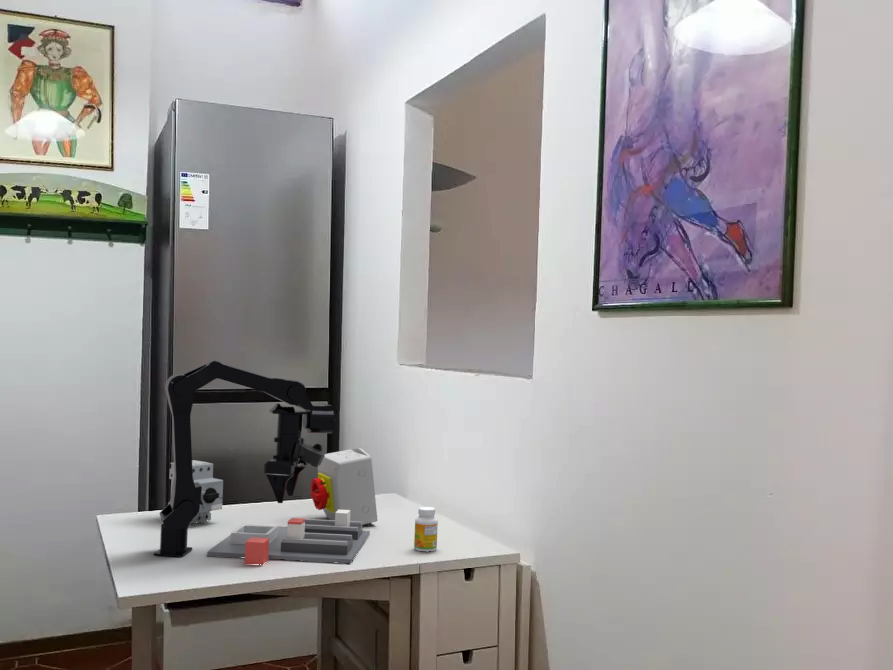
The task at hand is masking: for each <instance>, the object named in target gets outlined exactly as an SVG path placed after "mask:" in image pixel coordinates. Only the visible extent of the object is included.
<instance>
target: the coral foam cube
mask: <svg viewBox="0 0 893 670" xmlns="http://www.w3.org/2000/svg"><path fill="white" fill-rule="evenodd" d="M268 556H269V538H255V537H251V538H250V539H248V540H247V541H246V544H245V558H244V565H245V564H259V565H260V564H261V565H263V564H264V563H265V562H267V561H268V562H269V560H268ZM268 562H267V563H268Z"/></svg>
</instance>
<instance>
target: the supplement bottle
mask: <svg viewBox="0 0 893 670" xmlns="http://www.w3.org/2000/svg"><path fill="white" fill-rule="evenodd" d="M417 513H418V516H417V517H416V518H415V520H414V537H413V538H414V539H413V540H414V541H413V548H414V550H415V551H418V552H421V551H426V552H425V553H430V552H429V551H431V552H434V551H436V550H438V549H437V548H438V526H439V521H438V519H437V517H436V516H435V515H436V507H432V506H420V507H418V511H417Z"/></svg>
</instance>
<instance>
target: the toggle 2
mask: <svg viewBox="0 0 893 670" xmlns="http://www.w3.org/2000/svg"><path fill="white" fill-rule="evenodd" d="M335 526H344V527H349V526H350V510H339V509H338V511H337V512H336V513H335Z"/></svg>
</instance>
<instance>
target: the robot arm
mask: <svg viewBox="0 0 893 670" xmlns="http://www.w3.org/2000/svg"><path fill="white" fill-rule="evenodd" d="M216 379H217V380H223V381H225V382H228V383H229V382H230V383H233V384H236V385H239V386H243V387H246V388H249V389H253V390H257V391H260V392H263V393H265V394H267V395H269V396H270V397H272V398H275V399H276V400H278V401H281V402H282V403H286V404H288V405H291V406H282V405H281V404H280V403H279V402H276V403H275V404H274V406H272V408H270V409H269V411H268V412H269V413H271V414H273V415H277V424H276V425H277V428H276V436H275V437H274V439H273V442H274V443H275V454H272V455H273V456H272V458H271V459H269V460H267V461H266V463H264V465H263V474H265V477H267V480H268V482H269V484H270V486H271V489H272V491H273V494H274V497H275V499H276V502H277V503H278V504H283V503H284V499H285V495H286V493H287V496H288V497H293V496H294V492H295V489H296V485H297V483H298V479H299V475H300V473H302V472H303V470H305V469H306V468H307V467H308V465H310V466H312V467H315V468H318V466H319V465H320V464H321V462H322V460H323V458H324V457H325V454H326V451H325V450H324V446H323V444H321V443H318V442H317V443H315V444H314V445H313V446H312V445H308V444H306V443H305V438H304V436H302V434H303V432H302V430H303V429H304V430H306V431H307V433H308V434H333V432H334V431H335V428H336V427H335V426H336V419H335V412H334V406H333V405H331V404H322V405H320V404H319V405H318V404H317V405H314V404H312V401H310V399H309V397H308V396H307V388H306V386H305V385H304V383H303V382H301V381H299V380H295V379H291V378H282V377H272V376H266V375H262V374H259V373H257V372H256V373H255V372H253V371H249V370H246V369H243V368H239V367H235V366H233V365H229V364H226V363H223V362H221V361H219V360H209V361H208V362H207V363H205V364H203V365H201V366H199V367H196V368H194V369H192V370H190V371H188V372H186V373H184V374H181V373H175V374H172V375H171V376H169V378H167V379H166V382H165V384H164V389H165V393H166V398H167V403H168V407H169V410H170V413H171V421H172V422H171V423H172V424H171V425H172V445H173V446H172V448H173V449H172V450H173V462H174V481H173V486H172V491H171V490H170V499H169V502H170V503H169V504H168V503H167V505H166V506H165V507H164V508H163V509H162V510H161V511H160V512H159V516H160V519H161V522H162V523H161V525H160V539H159V540H160V541H159V543H160V544H159V549H158V550H157V551H154V552H153V555H154V556H161V557H176V558H177V557H179V558H181V557H184V556H186V555H187V554H188V553H190V552H191V551H192V550H193V547H191V546H189V547H188V533H189V524H190V521H191V519H192V518H194V517H195V516H196V515H197V514H198V513H199V509H200V504H201V505H203V503H202V501H201V492H202V486H201V485H200V484H199V483H198V482H196V483H194V480H193V472H192V460H193V455H192V453H193V452H192V450H193V449H192V432H191V431H192V429H191V427H192V425H191V424H192V423H191V414H192V408H193V404H194V399H195V392H196V391H197V390H199V389H201V388H203V387H204V386H206V385H207V384H210V383H211V382H214V380H216ZM294 406H296V407H297V408H300V409H302V410H296V409H295V407H294ZM302 428H303V429H302ZM302 464H303V465H302ZM190 525H191V524H190Z"/></svg>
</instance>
